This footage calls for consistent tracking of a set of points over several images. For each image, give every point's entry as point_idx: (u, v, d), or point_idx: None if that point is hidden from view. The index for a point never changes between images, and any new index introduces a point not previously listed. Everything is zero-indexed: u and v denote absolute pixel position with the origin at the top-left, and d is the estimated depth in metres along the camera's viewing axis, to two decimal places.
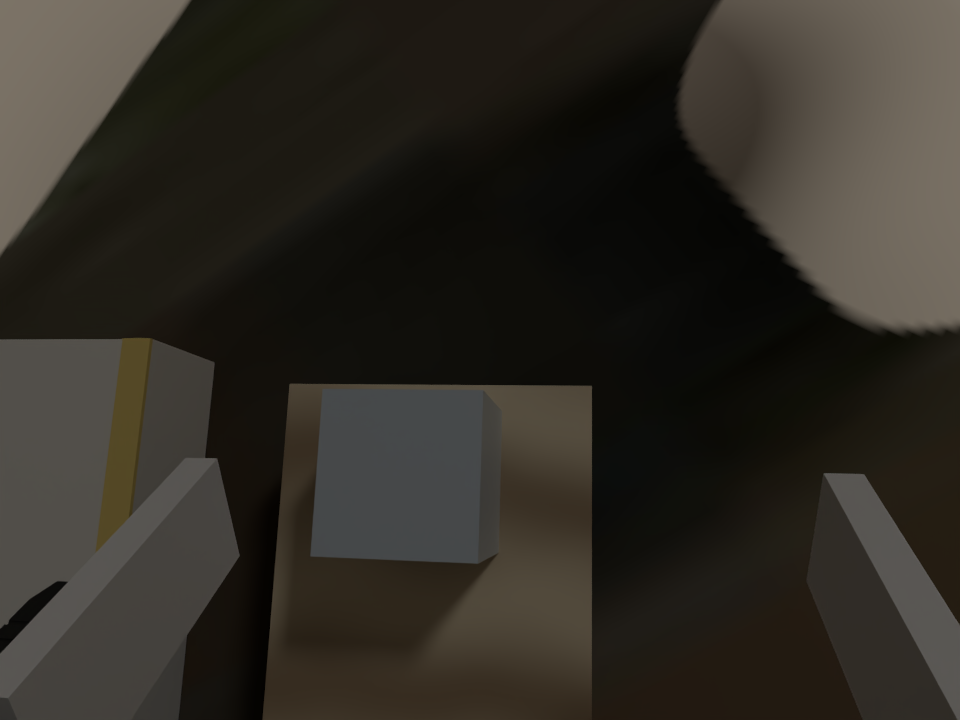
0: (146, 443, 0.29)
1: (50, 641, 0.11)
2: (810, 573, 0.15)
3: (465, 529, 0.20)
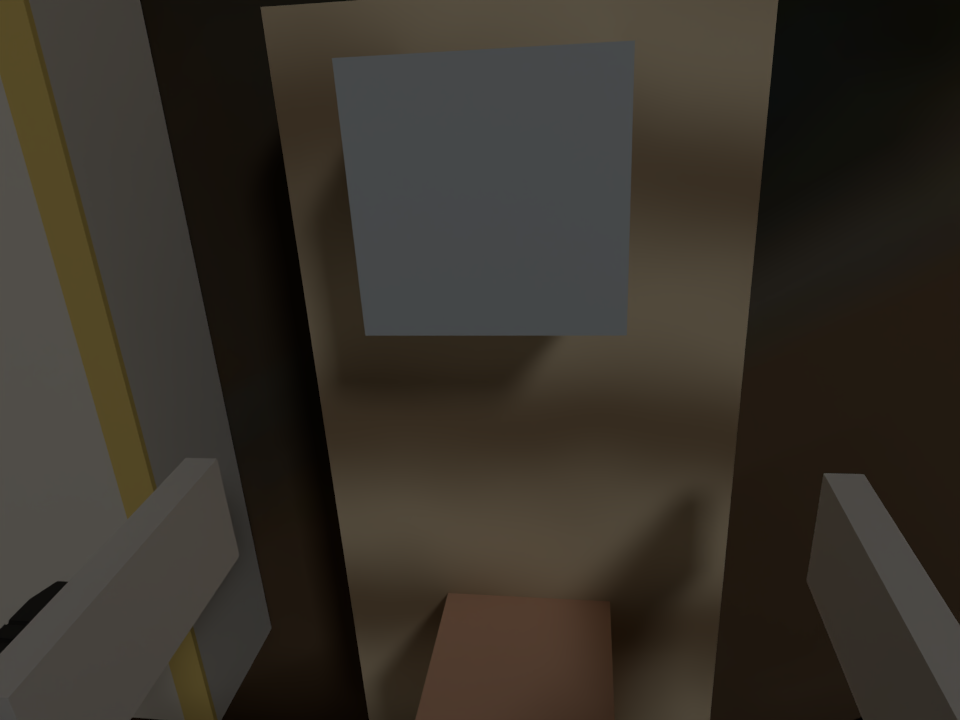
0: (69, 115, 0.19)
1: (49, 641, 0.11)
2: (810, 573, 0.15)
3: (605, 287, 0.13)
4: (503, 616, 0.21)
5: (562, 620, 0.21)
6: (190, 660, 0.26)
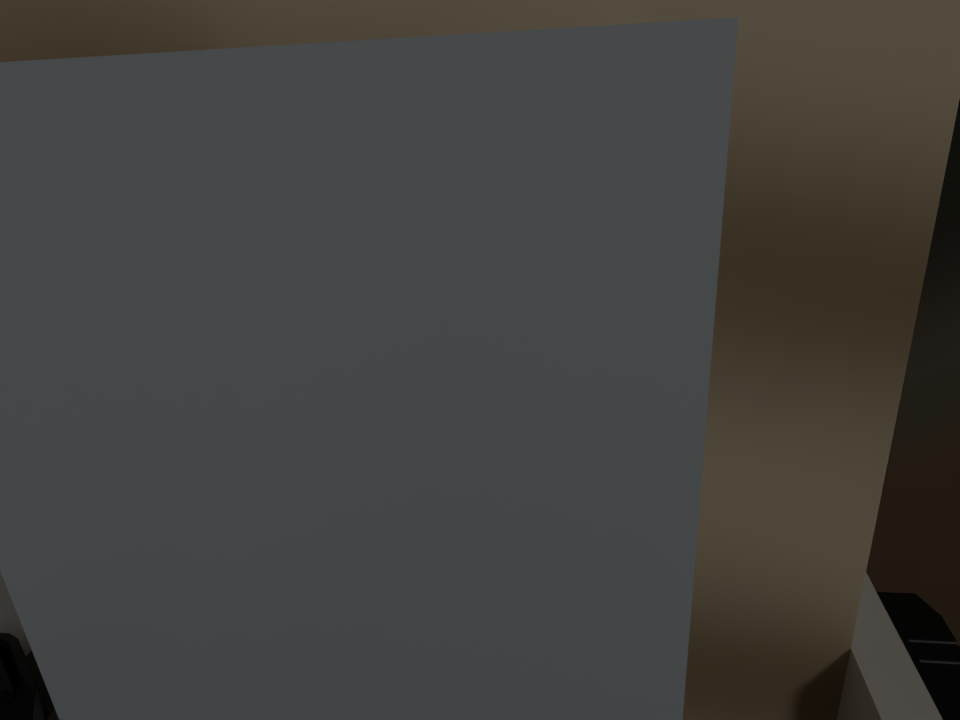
0: None
1: None
2: None
3: (626, 671, 0.05)
4: None
5: None
6: None
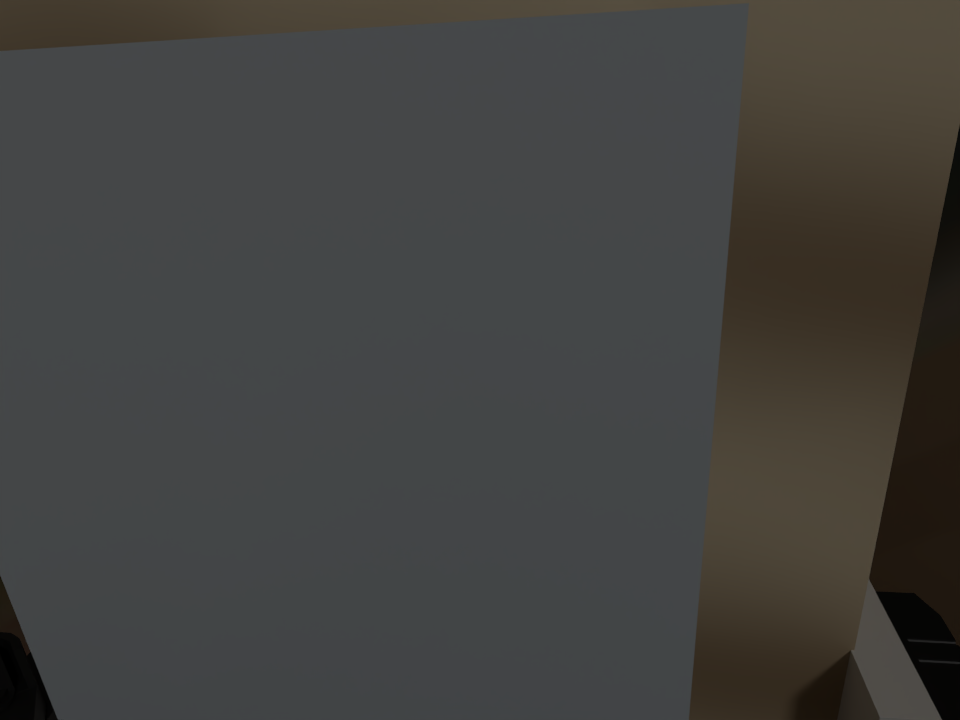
0: None
1: None
2: None
3: (632, 670, 0.05)
4: None
5: None
6: None
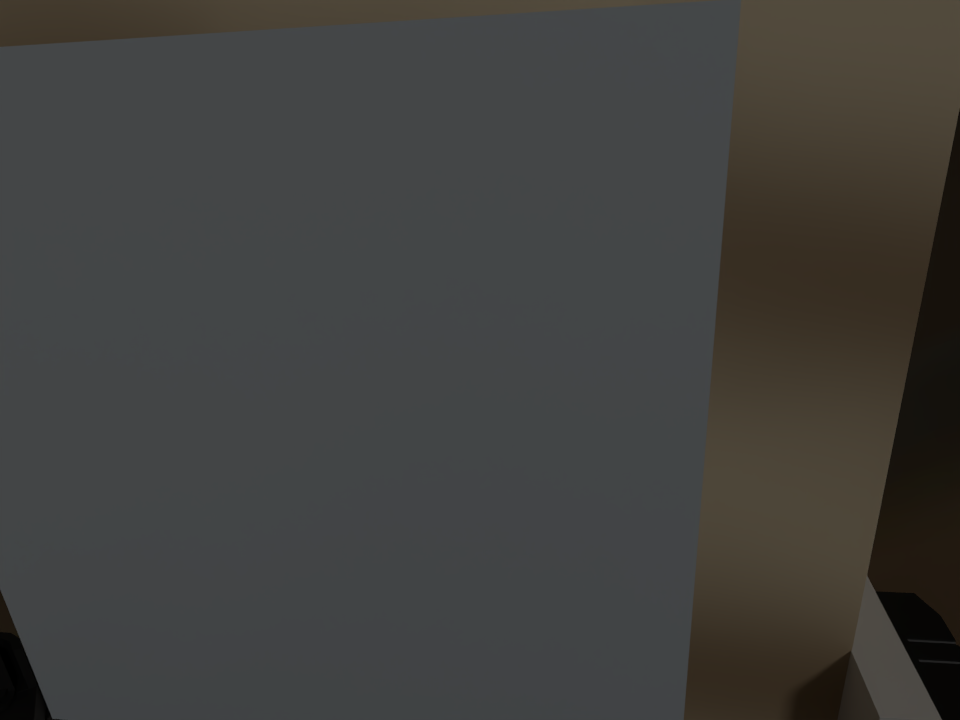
0: None
1: None
2: None
3: (627, 669, 0.05)
4: None
5: None
6: None
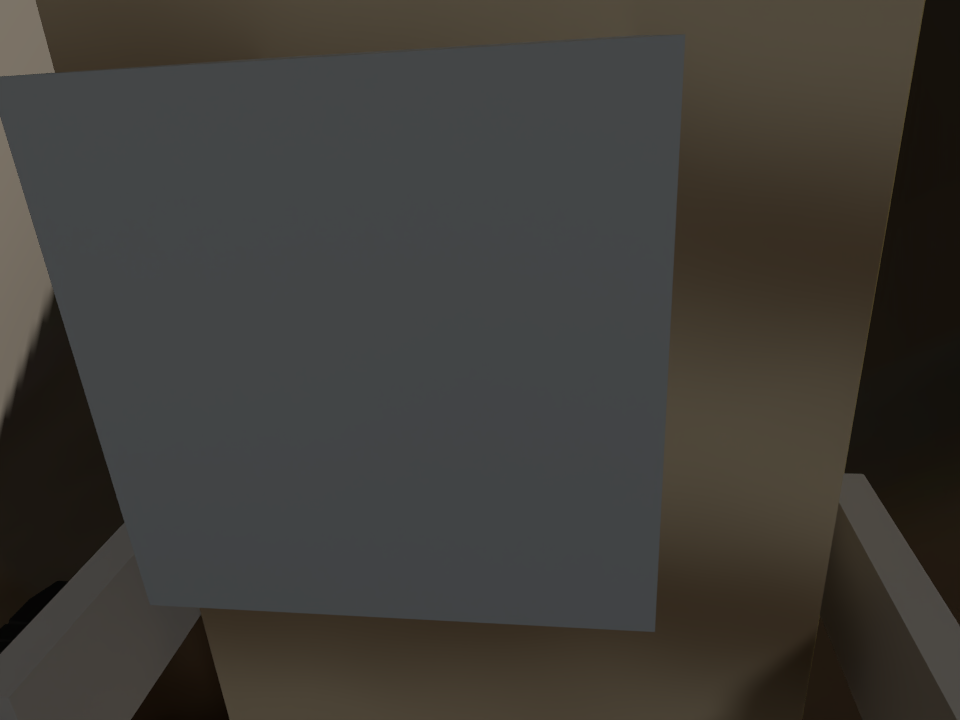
0: None
1: (51, 641, 0.11)
2: None
3: (612, 547, 0.06)
4: None
5: None
6: None
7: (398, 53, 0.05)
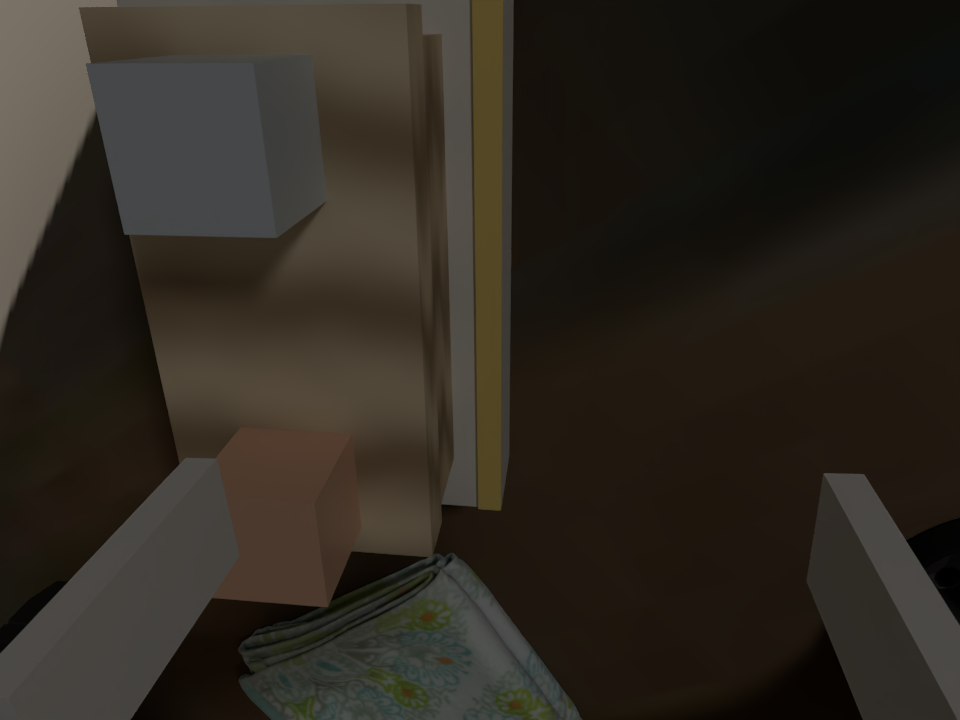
0: (504, 63, 0.30)
1: (49, 641, 0.11)
2: (810, 573, 0.15)
3: (260, 207, 0.21)
4: (273, 440, 0.29)
5: (313, 442, 0.29)
6: (494, 456, 0.37)
7: (188, 63, 0.20)
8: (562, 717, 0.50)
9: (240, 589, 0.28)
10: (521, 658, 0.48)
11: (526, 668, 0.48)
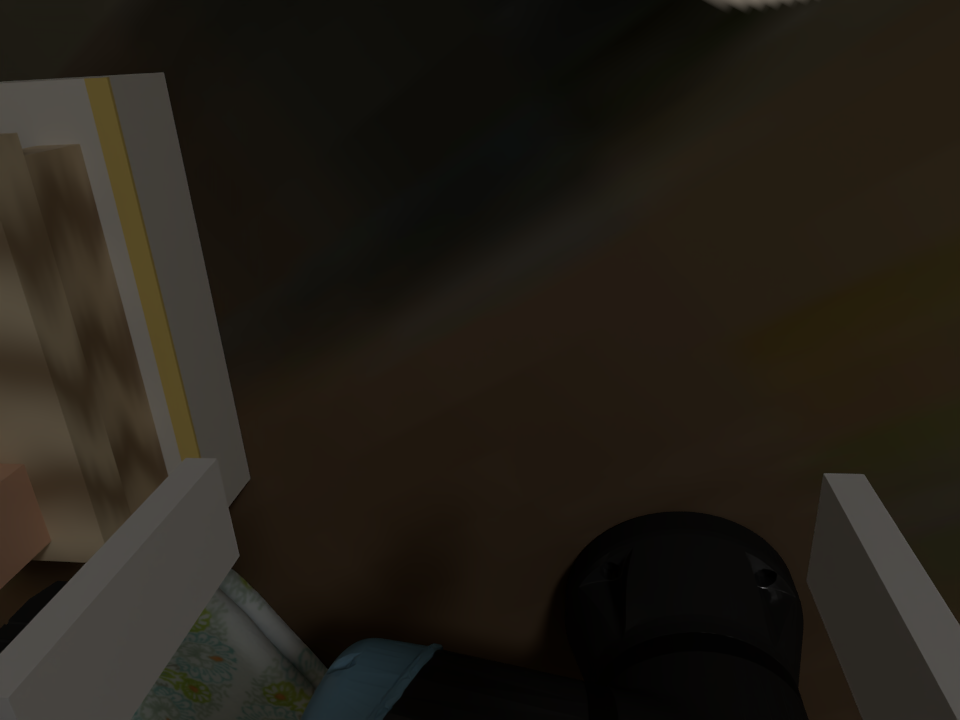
0: (135, 163, 0.37)
1: (49, 642, 0.11)
2: (810, 573, 0.15)
3: None
4: None
5: None
6: None
7: None
8: None
9: None
10: (292, 656, 0.55)
11: (298, 665, 0.55)
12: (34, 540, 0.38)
